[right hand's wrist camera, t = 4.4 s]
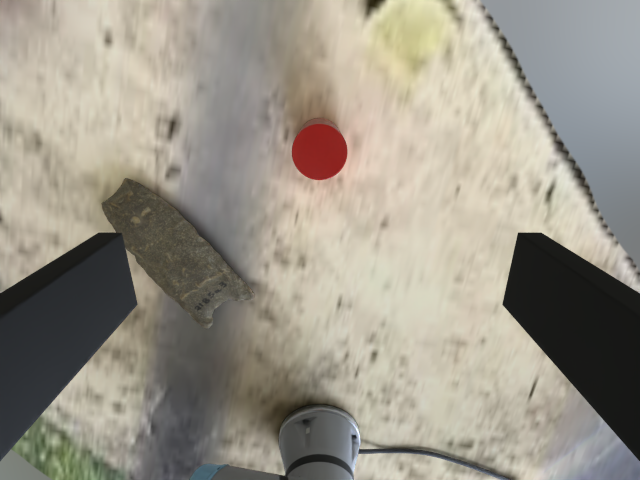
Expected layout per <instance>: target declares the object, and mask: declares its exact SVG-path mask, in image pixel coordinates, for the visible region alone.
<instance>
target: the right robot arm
mask: <svg viewBox="0 0 640 480" xmlns="http://www.w3.org/2000/svg"><path fill="white" fill-rule="evenodd" d="M137 305H138V304H137V300H136V295H135V291H134V286H133V281H132V277H131V272H130V268H129V263H128V258H127V254H126V249H125V244H124V240H123V235H122V233H98V234H96V235H94V236H93V237H91V238H89V239H88V240H86V241H85V242H83V243H81V244H80V245H78V246H76V247H75V248H73V249H72V250H70V251H68V252H67V253H65V254H64V255H62V256H60V257H59V258H57V259H55V260H54V261H52V262H51V263H49V264H47V265H46V266H44V267H42V268H41V269H39V270H38V271H36V272H34V273H33V274H31V275H29V276H28V277H26V278H25V279H23V280H21V281H20V282H18V283H16V284H15V285H13V286H12V287H10V288H8V289H7V290H5V291H3V292H2V293H0V461H1V460H2V459H3V457H4V456H5V455H6V454H7V453H8V452H9V451H10V449H11V448H12V447H13V446H14V445H15V444H16V443H17V441H18V440H19V439H20V438H21V437H22V436H23V435H24V433H25V432H26V431H27V430H28V429H29V428H30V427H31V425H32V424H33V423H34V422H35V421H36V420H37V419H38V417H39V416H40V415H41V414H42V413H43V412H44V411H45V409H46V408H47V407H48V406H49V405H50V404H51V403H52V401H53V400H54V399H55V398H56V397H57V396H58V395H59V394H60V392H61V391H62V390H63V389H64V388H65V387H66V386H67V384H68V383H69V382H70V381H71V380H72V379H73V378H74V376H75V375H76V374H77V373H78V372H79V371H80V370H81V368H82V367H83V366H84V365H85V364H86V363H87V362H88V360H89V359H90V358H91V357H92V356H93V355H94V354H95V352H96V351H97V350H98V349H99V348H100V347H101V346H102V344H103V343H104V342H105V341H106V340H107V339H108V338H109V336H110V335H111V334H112V333H113V332H114V331H115V330H116V328H117V327H118V326H119V325H120V324H121V323H122V322H123V321H124V319H125V318H126V317H127V316H128V315H129V314H130V313H131V311H132V310H133V309H134V308H135V307H136V306H137ZM502 305H503V306H504V307H505V308H506V309H507V310H508V311H509V313H510V314H511V315H512V316H513V317H514V318H515V319H516V321H517V322H518V323H519V324H520V325H521V326H522V327H523V328H524V330H525V331H526V332H527V333H528V334H529V335H530V336H531V338H532V339H533V340H534V341H535V342H536V343H537V344H538V346H539V347H540V348H541V349H542V350H543V351H544V352H545V354H546V355H547V356H548V357H549V358H550V359H551V360H552V362H553V363H554V364H555V365H556V366H557V367H558V368H559V370H560V371H561V372H562V373H563V374H564V375H565V376H566V378H567V379H568V380H569V381H570V382H571V383H572V384H573V386H574V387H575V388H576V389H577V390H578V391H579V392H580V394H581V395H582V396H583V397H584V398H585V399H586V400H587V401H588V403H589V404H590V405H591V406H592V407H593V408H594V409H595V411H596V412H597V413H598V414H599V415H600V416H601V417H602V419H603V420H604V421H605V422H606V423H607V424H608V425H609V427H610V428H611V429H612V430H613V431H614V432H615V433H616V435H617V436H618V437H619V438H620V439H621V440H622V441H623V443H624V444H625V445H626V446H627V447H628V448H629V449H630V451H631V452H632V453H633V454H634V455H635V456H636V457H637V459H638V460H639V461H640V293H638V292H637V291H635V290H633V289H632V288H630V287H628V286H627V285H625V284H624V283H622V282H620V281H619V280H617V279H615V278H614V277H612V276H611V275H609V274H607V273H606V272H604V271H602V270H601V269H599V268H598V267H596V266H594V265H593V264H591V263H589V262H588V261H586V260H585V259H583V258H581V257H580V256H578V255H576V254H575V253H573V252H572V251H570V250H568V249H567V248H565V247H564V246H562V245H560V244H559V243H557V242H555V241H554V240H552V239H551V238H549V237H547V236H546V235H544V234H542V233H518V235H517V240H516V244H515V249H514V254H513V258H512V263H511V268H510V272H509V277H508V281H507V286H506V291H505V295H504V300H503V304H502ZM359 447H360V434H359V428H358V425H357V423H356V421H355V420H354V419H353V418H352V416H350V415H349V414H348V413H347V412H345V411H343V410H341V409H339V408H337V407H333V406H329V405H310V406H305V407H302V408H300V409H297V410H295V411H294V412H292V413H291V414H290V415H288V416H287V417H286V418H285V420H284V421H283V423H282V425H281V427H280V433H279V448H280V452H281V457H282V461H283V465H284V469H285V476H282V475H277V474H271V473H266V472H261V471H255V470H250V469H245V468H239V467H234V466H230V465H228V464H224V465H216V464H204V465H202V466H200V467H199V468H198V469H197V470H196V471H195V472H194V473H193V475H192V476H191V478H190V480H354V476H353V472H354V468H355V464H356V460H357V456H358V454H372V453H412V454H422V455H428V456H433V457H437V458H441V459H444V460H448V461H451V462H454V463H457V464H460V465H463V466H466V467H469V468H472V469H475V470H477V471H480V472H483V473H485V474H488V475H491V476H493V477H496V478H498V479H501V480H510V479H508V478H506V477H503V476H501V475H498V474H496V473H493V472H491V471H488V470H486V469H483V468H480V467H478V466H475V465H472V464H470V463H467V462H464V461H461V460H458V459H454V458H451V457H448V456H445V455H441V454H438V453H434V452H429V451H423V450H415V449H359Z"/></svg>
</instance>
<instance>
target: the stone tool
mask: <svg viewBox="0 0 640 480" xmlns="http://www.w3.org/2000/svg"><path fill="white" fill-rule="evenodd" d="M102 208H103V211H104V214H105V215H106V217H107V219H108V221H109V222H110V223H111V224H112V226H113V227H114V229H115V231H116V233H122V235H123V240H124V244H125V248H126V249H127V250H128V251H130V252H131V253H132V254H133V255H134V256H135V258H136V261H137V263H138V264H139V265H140V266H141V267H142V268H144V270H145V271H146V273H147V274H148V275H149V276H150V277H151V278H152V279H153V280H154V282H155V283H156V284H157V285H159V286H160V287H161V288H162V289H163V290H164V292H165V293H166V294H167V295H168V296H169V297H170V298H172V299H173V300H174V301H175V302H177V303H178V304H179V305H180V306H181V307H182V308H183V309H185V310H186V311H187V312H188V313H189V315H190V316H191V317H192V318H193V319H194V320H195V321H196V322H197V323H198V324H199V325H201V326H202V327H203V328H205V329H208V328H210V326H211V325H212V323H213V318H212V314H213V312H214V309H216V308H217V307H218V306H220V305H221V304H222V303H224V302H225V301H226V300H236V301H239V300H241V299H243V300H252V299H253V298H254V297H255V296H254V293H253V292H252V290H251V289H250V287H249V286H247V284H246V283H245V282H244V281H242V279H241V278H240V277H239V276H238V275H237V274H235V273H234V271H233V270H232V268H231V267H230V266H229V265H227V264H226V262H225V261H224V260H223V259H222V257H221V255H220V254H219V253H217V252H216V251H215V250H214V249H213V248H212V247H211V245H210V244H209V243H208V242H207V241H206V240H205V239H203V238H202V237H200V236H199V235H198V234H197V231H196V229H195V228H194V226H193V225H191V223H190V222H188V221H186V220H185V219H184V218H183V216H182V215H181V214H180V213H179V211H178V210H177V209H175V208H174V207H172V206H170V205H169V204H168V203H167V202H166V201H164V200H163V199H162V198H161V197H159V196H157V195H156V194H154V193H152V192H151V191H150V190H149V189H147V188H145V187H144V186H142V185H141V184H139V183H137V182H134V181H133V180H130V179H127V178H125V179H124V181H123V184H122V186H121V187H120V188H119V189H118V190H117V192H116V193H115V194H114V195H113V196H112V197H110V198H109V199H108V200H106V201H105V202H103V203H102Z"/></svg>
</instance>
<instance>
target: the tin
mask: <svg viewBox="0 0 640 480" xmlns="http://www.w3.org/2000/svg"><path fill="white" fill-rule="evenodd" d="M292 157H293V161H294V164H295V166H296V167H297V169H298V170H299V171H300V172H301V173H302V174H303V175H305V176H306V177H308V178H311V179H314V180H325V179H329V178H331V177H333V176H335V175H336V174H337V173H339V171H340V170H341V169H342V168H343V166H344V164H345V162H346V159H347V145H346V142H345V139H344V138H343V136H342V134H341V133H340V131H339V129H338V127H337V126H336V125H335V124H334V123H333V122H331V121H330V120H327V119H324V118H315V119H312V120H310V121H308V122H307V123H305V124H304V125H303V127H302V128H301V130H300V131H299V133H298V135H297V136H296V138H295V140H294V143H293V146H292Z"/></svg>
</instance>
